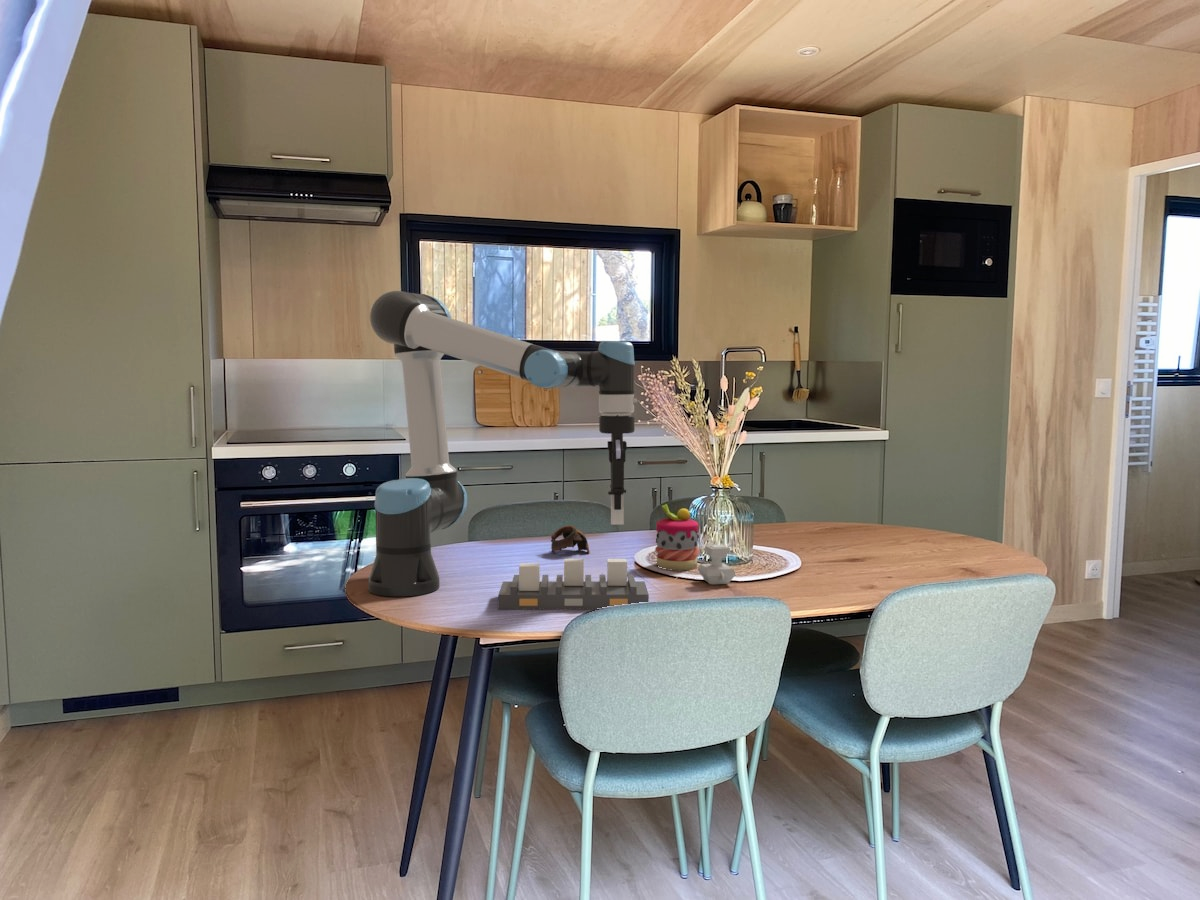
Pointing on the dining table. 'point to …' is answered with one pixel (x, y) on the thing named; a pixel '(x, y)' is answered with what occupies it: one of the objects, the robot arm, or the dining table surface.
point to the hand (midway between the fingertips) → (617, 523)
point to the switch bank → (571, 594)
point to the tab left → (529, 576)
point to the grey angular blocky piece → (716, 566)
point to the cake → (677, 541)
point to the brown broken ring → (569, 539)
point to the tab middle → (573, 572)
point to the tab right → (617, 572)
